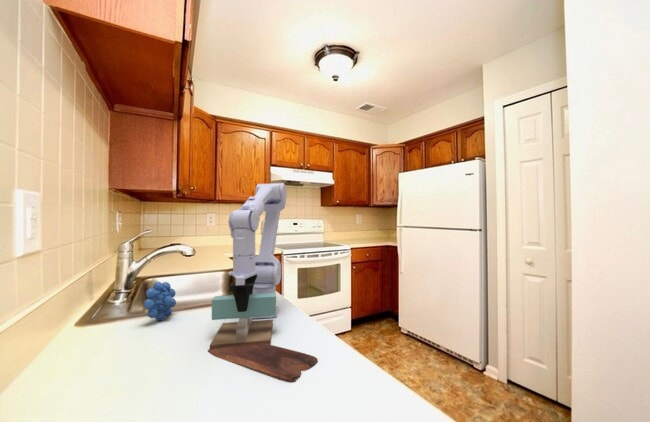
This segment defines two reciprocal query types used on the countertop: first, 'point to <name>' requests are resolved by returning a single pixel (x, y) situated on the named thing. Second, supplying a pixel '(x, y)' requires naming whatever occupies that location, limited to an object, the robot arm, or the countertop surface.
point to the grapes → (160, 300)
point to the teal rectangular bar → (256, 308)
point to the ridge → (243, 333)
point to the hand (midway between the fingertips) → (244, 306)
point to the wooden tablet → (267, 359)
